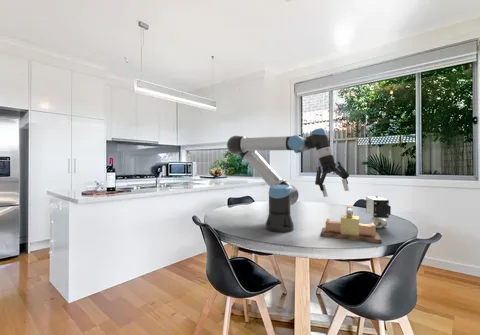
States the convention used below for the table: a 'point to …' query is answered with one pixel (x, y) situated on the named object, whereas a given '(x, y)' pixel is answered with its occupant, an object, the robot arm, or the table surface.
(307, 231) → the table surface
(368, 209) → the ball valve
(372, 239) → the pipe board
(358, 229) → the valve body
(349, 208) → the lever
